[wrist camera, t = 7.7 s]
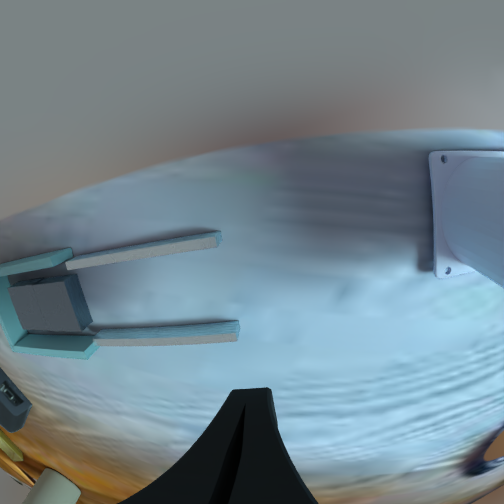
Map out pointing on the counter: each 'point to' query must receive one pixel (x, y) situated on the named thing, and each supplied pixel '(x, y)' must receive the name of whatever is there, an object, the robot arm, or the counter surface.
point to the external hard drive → (12, 405)
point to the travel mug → (53, 490)
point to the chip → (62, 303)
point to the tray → (37, 344)
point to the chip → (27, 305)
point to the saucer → (10, 448)
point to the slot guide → (168, 333)
